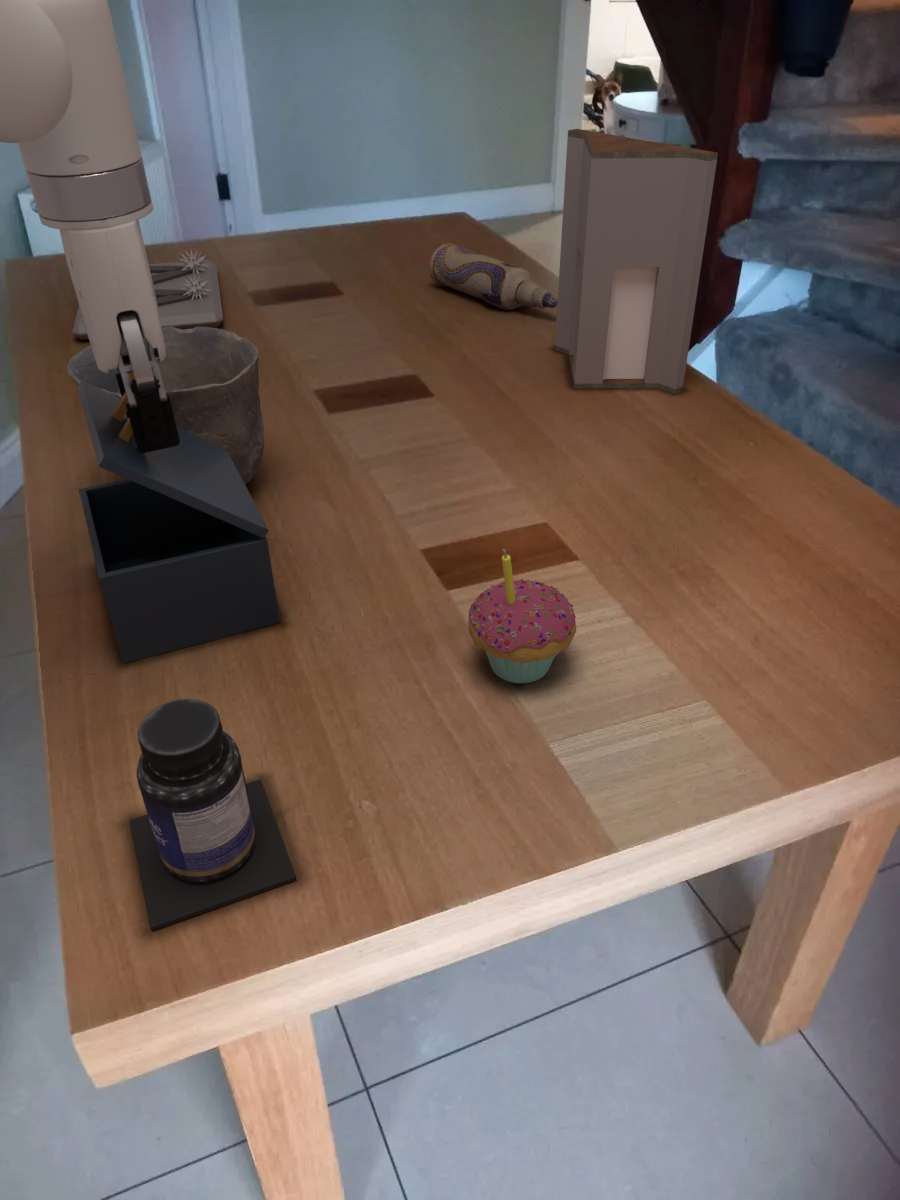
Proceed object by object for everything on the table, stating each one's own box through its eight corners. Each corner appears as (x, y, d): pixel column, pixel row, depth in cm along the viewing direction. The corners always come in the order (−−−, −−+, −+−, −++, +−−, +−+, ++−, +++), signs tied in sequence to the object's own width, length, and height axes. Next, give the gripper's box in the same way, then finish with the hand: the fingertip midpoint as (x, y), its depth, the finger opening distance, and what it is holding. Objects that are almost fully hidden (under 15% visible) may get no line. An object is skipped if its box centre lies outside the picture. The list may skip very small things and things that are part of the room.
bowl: (122, 552, 89) (83, 408, 80) (91, 474, 102) (54, 342, 93) (297, 507, 95) (279, 369, 86) (247, 440, 108) (227, 313, 99)
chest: (123, 663, 75) (98, 578, 70) (101, 568, 87) (78, 488, 82) (280, 623, 80) (267, 539, 74) (239, 537, 91) (226, 459, 86)
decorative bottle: (425, 288, 152) (425, 246, 148) (460, 279, 156) (460, 238, 152) (535, 330, 136) (537, 284, 132) (570, 318, 140) (574, 274, 136)
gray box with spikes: (225, 330, 137) (217, 282, 133) (74, 344, 133) (61, 295, 129) (217, 271, 161) (210, 229, 156) (89, 282, 157) (78, 238, 152)
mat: (152, 931, 55) (150, 927, 55) (130, 824, 62) (129, 820, 62) (296, 880, 58) (296, 876, 58) (261, 782, 65) (260, 778, 65)
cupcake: (515, 714, 70) (521, 586, 63) (445, 659, 75) (443, 536, 68) (594, 667, 74) (607, 543, 67) (522, 618, 80) (528, 498, 73)
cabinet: (682, 390, 118) (718, 152, 102) (634, 412, 113) (663, 165, 96) (562, 346, 131) (576, 128, 114) (514, 364, 126) (522, 138, 109)
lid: (98, 466, 66) (134, 405, 64) (76, 388, 77) (106, 334, 75) (263, 538, 74) (298, 486, 73) (222, 458, 86) (252, 411, 84)
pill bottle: (156, 825, 61) (119, 703, 55) (247, 800, 63) (222, 679, 56) (167, 899, 57) (129, 775, 50) (265, 869, 58) (241, 746, 52)
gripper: (26, 171, 68) (93, 399, 79) (43, 233, 55) (119, 493, 66) (130, 159, 70) (181, 381, 81) (168, 215, 57) (222, 469, 69)
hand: (153, 429), depth 74 cm, fingers closed on lid, 5 cm apart
